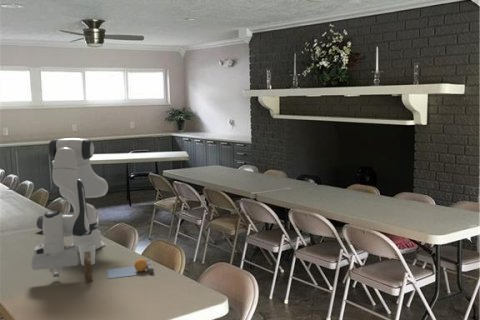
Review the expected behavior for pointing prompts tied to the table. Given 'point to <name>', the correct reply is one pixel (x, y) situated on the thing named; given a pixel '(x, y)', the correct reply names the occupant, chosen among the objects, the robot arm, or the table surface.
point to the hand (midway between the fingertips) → (56, 276)
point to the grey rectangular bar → (149, 267)
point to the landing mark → (121, 272)
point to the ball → (140, 265)
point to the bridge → (87, 266)
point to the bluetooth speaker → (40, 222)
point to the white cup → (86, 248)
